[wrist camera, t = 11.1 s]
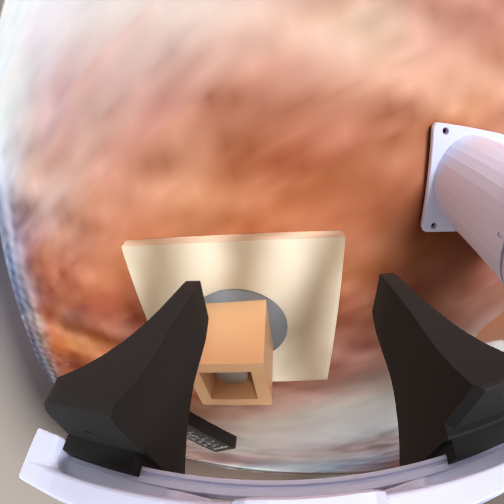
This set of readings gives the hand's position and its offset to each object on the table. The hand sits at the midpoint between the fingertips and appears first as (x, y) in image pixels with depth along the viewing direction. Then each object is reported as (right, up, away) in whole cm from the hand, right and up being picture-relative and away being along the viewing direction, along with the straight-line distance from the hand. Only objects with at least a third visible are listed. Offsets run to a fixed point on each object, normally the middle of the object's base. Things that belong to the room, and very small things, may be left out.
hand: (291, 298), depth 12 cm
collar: (-3, -4, +12) cm, 13 cm away
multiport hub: (-10, -21, +25) cm, 35 cm away
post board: (-3, -4, +14) cm, 14 cm away
